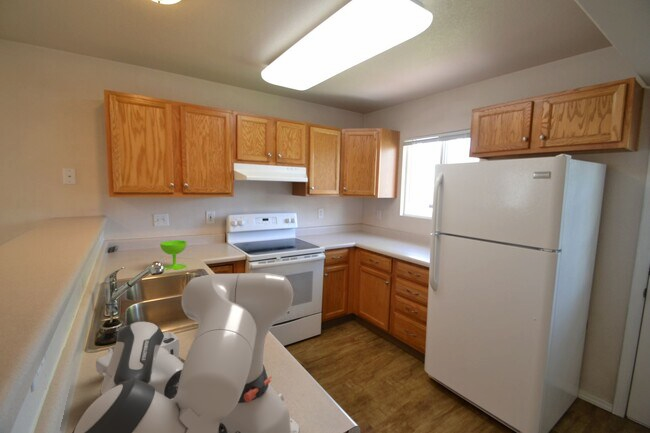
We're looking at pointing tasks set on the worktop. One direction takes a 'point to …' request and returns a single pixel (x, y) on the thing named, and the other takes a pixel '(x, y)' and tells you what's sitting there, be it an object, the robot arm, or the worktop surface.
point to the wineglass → (174, 252)
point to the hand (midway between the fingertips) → (129, 343)
